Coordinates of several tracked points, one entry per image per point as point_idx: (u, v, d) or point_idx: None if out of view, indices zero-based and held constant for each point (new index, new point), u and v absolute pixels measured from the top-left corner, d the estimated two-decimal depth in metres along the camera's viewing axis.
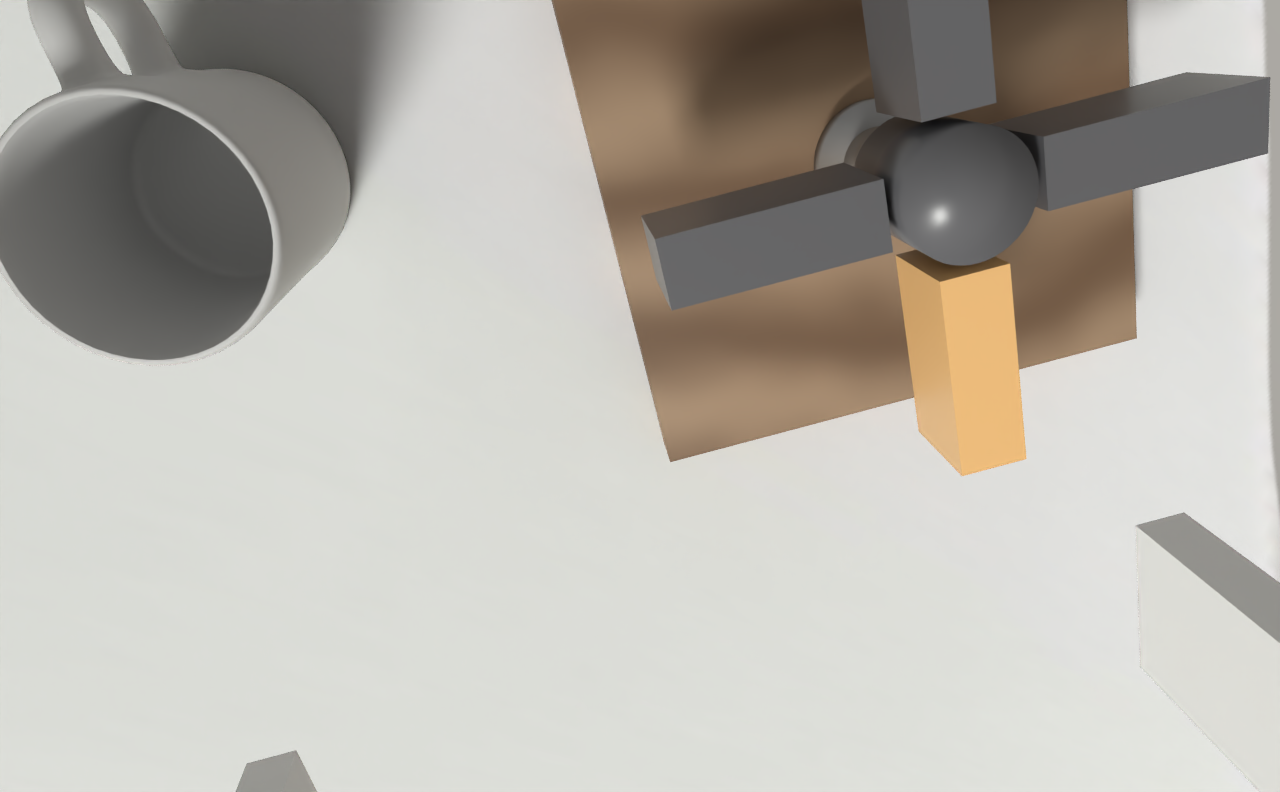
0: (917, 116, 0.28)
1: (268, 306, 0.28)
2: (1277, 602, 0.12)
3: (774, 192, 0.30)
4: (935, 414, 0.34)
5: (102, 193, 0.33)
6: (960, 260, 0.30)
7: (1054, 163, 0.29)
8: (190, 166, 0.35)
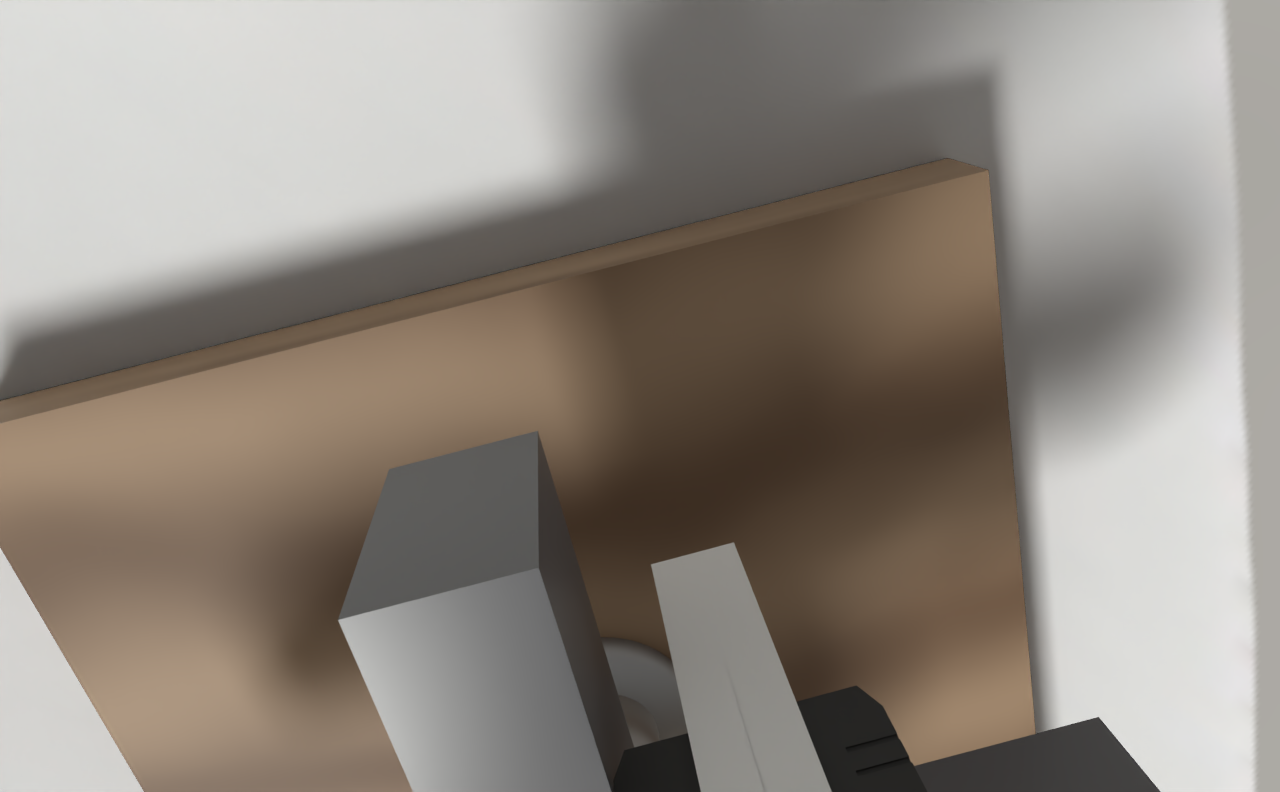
0: None
1: None
2: (746, 622, 0.14)
3: None
4: None
5: None
6: None
7: None
8: None
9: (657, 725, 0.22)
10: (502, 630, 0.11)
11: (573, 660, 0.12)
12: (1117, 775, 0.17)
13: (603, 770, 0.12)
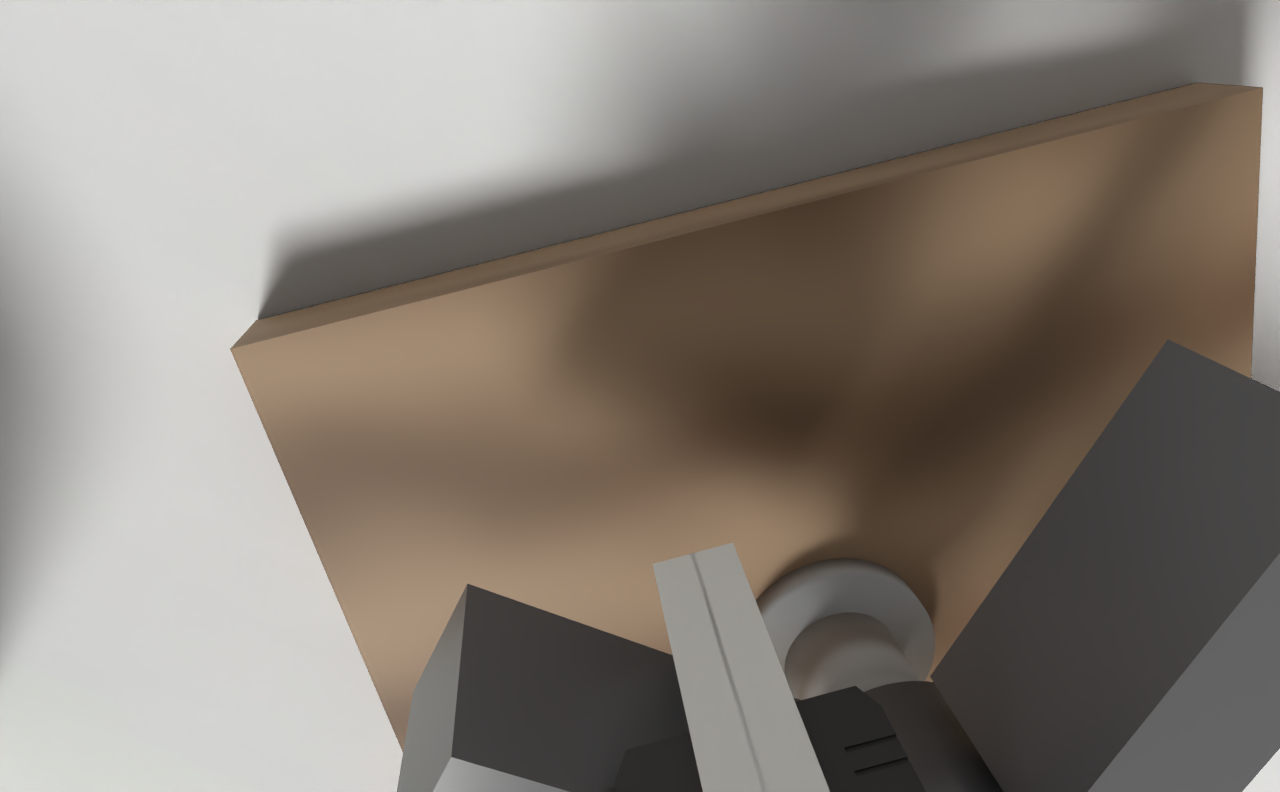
0: None
1: None
2: (745, 623, 0.14)
3: None
4: None
5: None
6: None
7: None
8: None
9: None
10: None
11: (566, 771, 0.12)
12: (1207, 391, 0.14)
13: None
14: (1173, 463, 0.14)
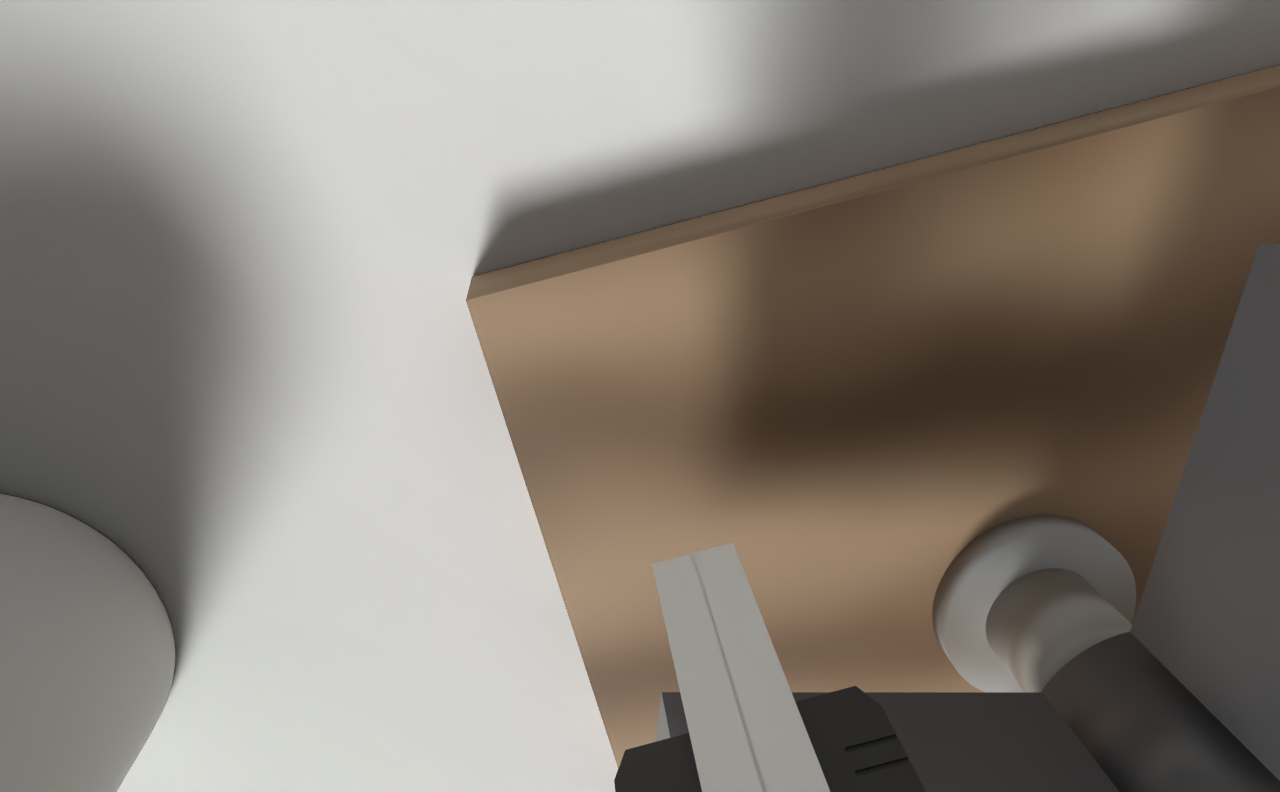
0: None
1: None
2: (745, 622, 0.14)
3: None
4: None
5: None
6: None
7: None
8: None
9: None
10: None
11: None
12: None
13: None
14: None
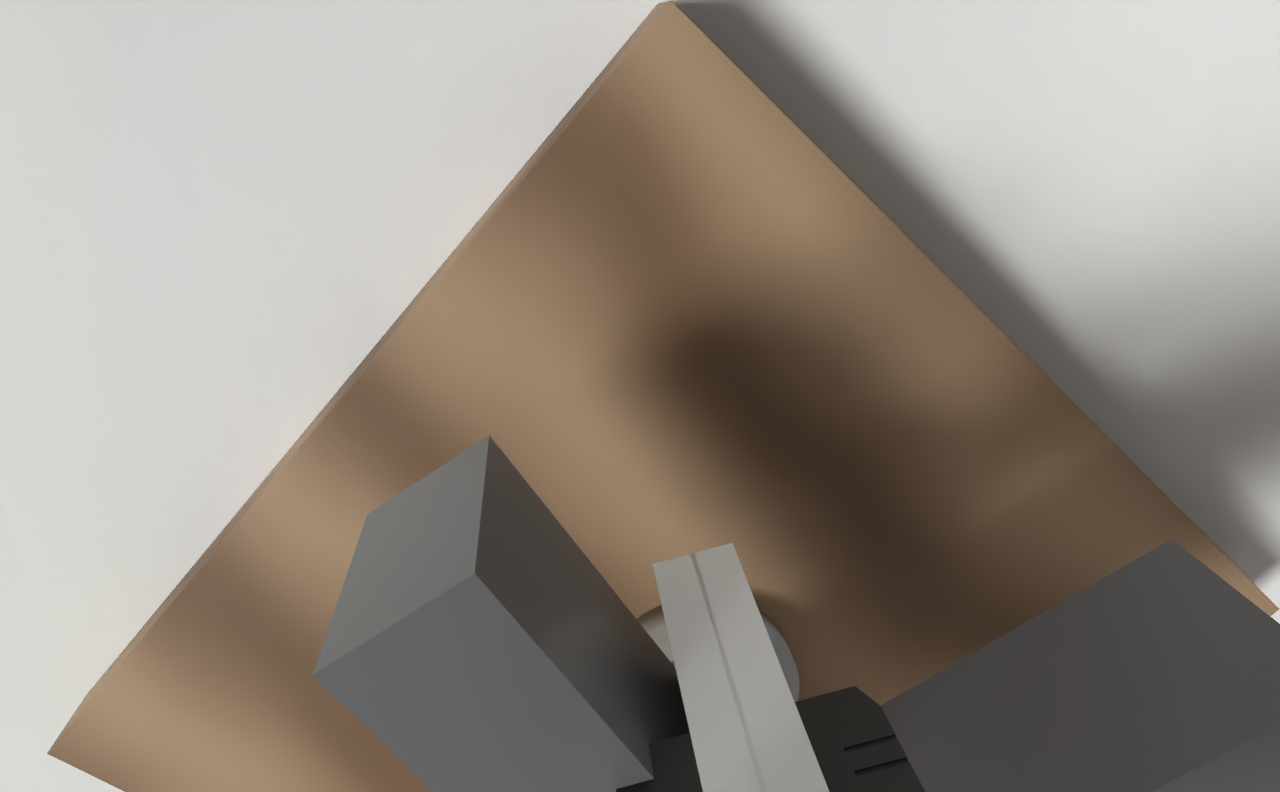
0: None
1: None
2: (744, 623, 0.14)
3: None
4: None
5: None
6: None
7: None
8: None
9: None
10: (467, 641, 0.11)
11: (554, 647, 0.12)
12: (1199, 593, 0.15)
13: (620, 741, 0.12)
14: (1147, 640, 0.15)
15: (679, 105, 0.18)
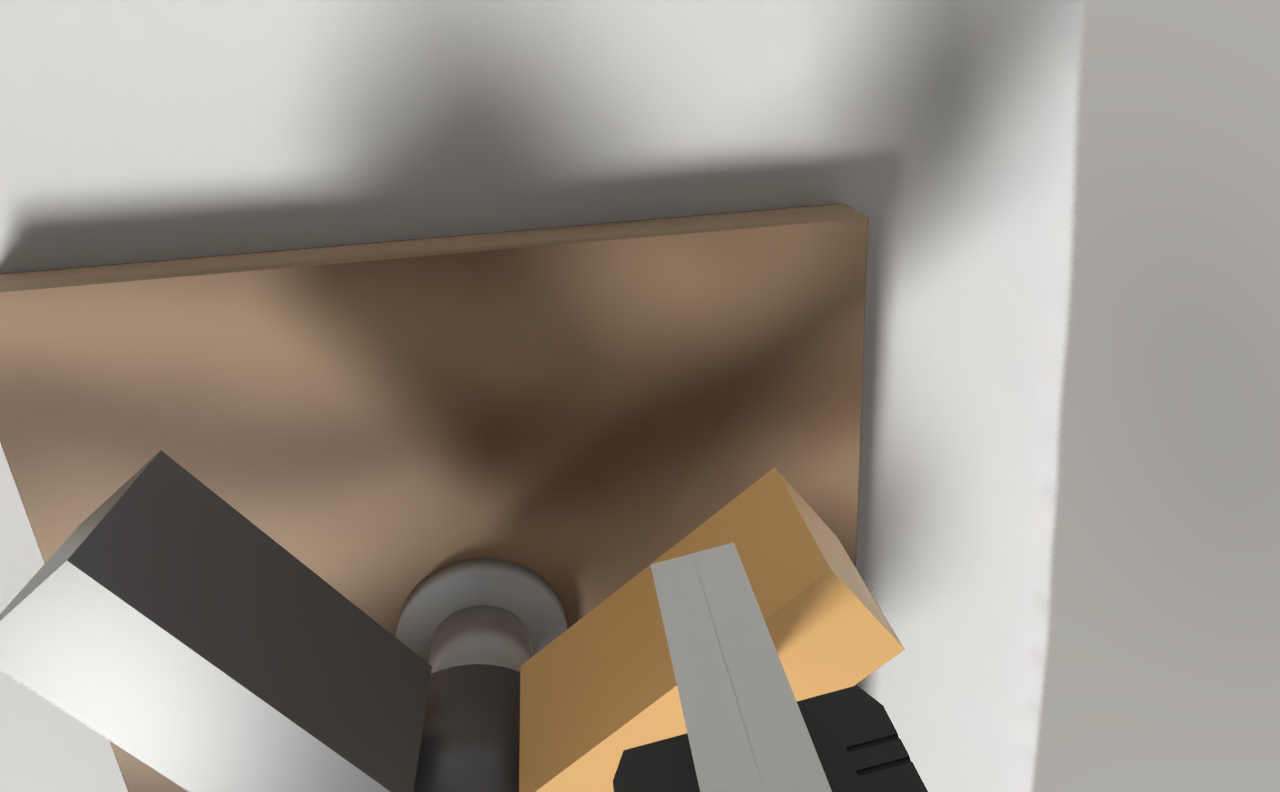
0: None
1: None
2: (746, 622, 0.14)
3: None
4: None
5: None
6: None
7: None
8: None
9: (532, 640, 0.26)
10: None
11: None
12: None
13: None
14: None
15: (26, 342, 0.22)
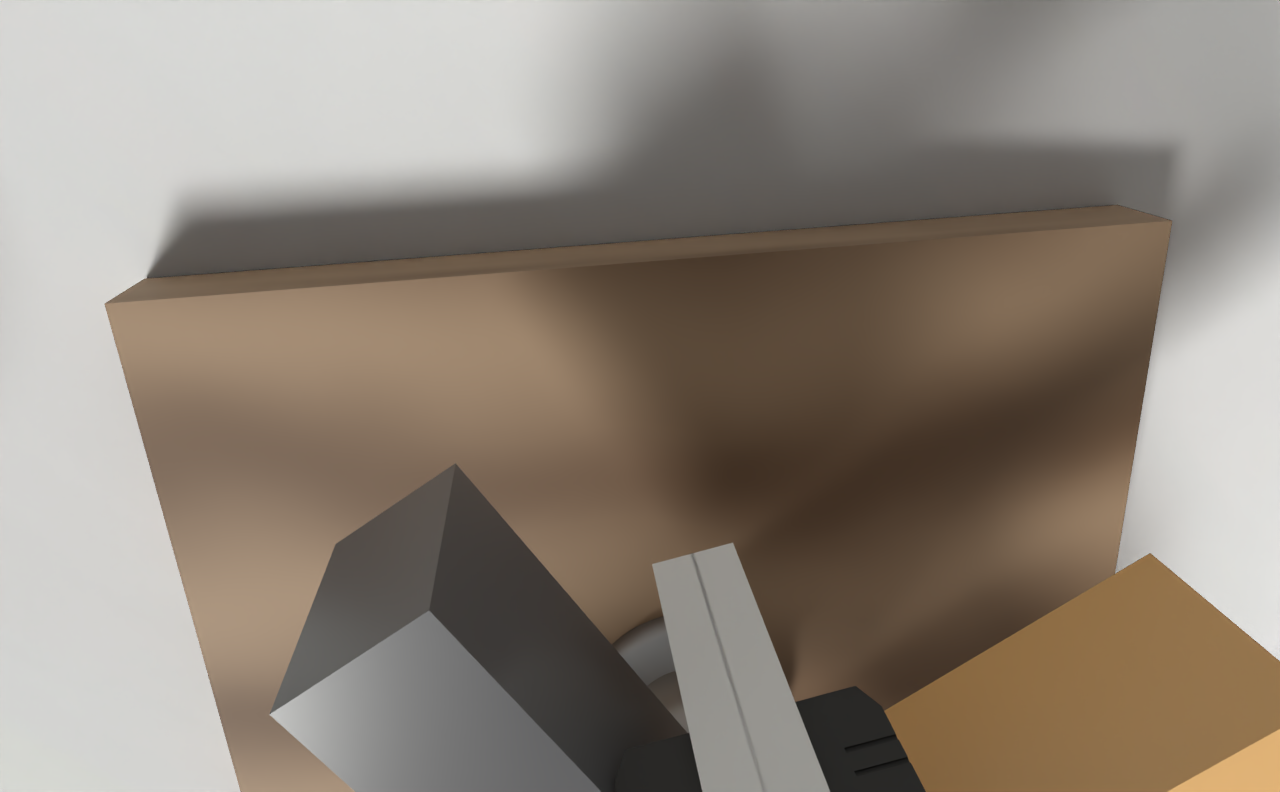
0: None
1: None
2: (745, 623, 0.14)
3: None
4: None
5: None
6: None
7: None
8: None
9: None
10: None
11: None
12: None
13: None
14: None
15: (192, 358, 0.18)
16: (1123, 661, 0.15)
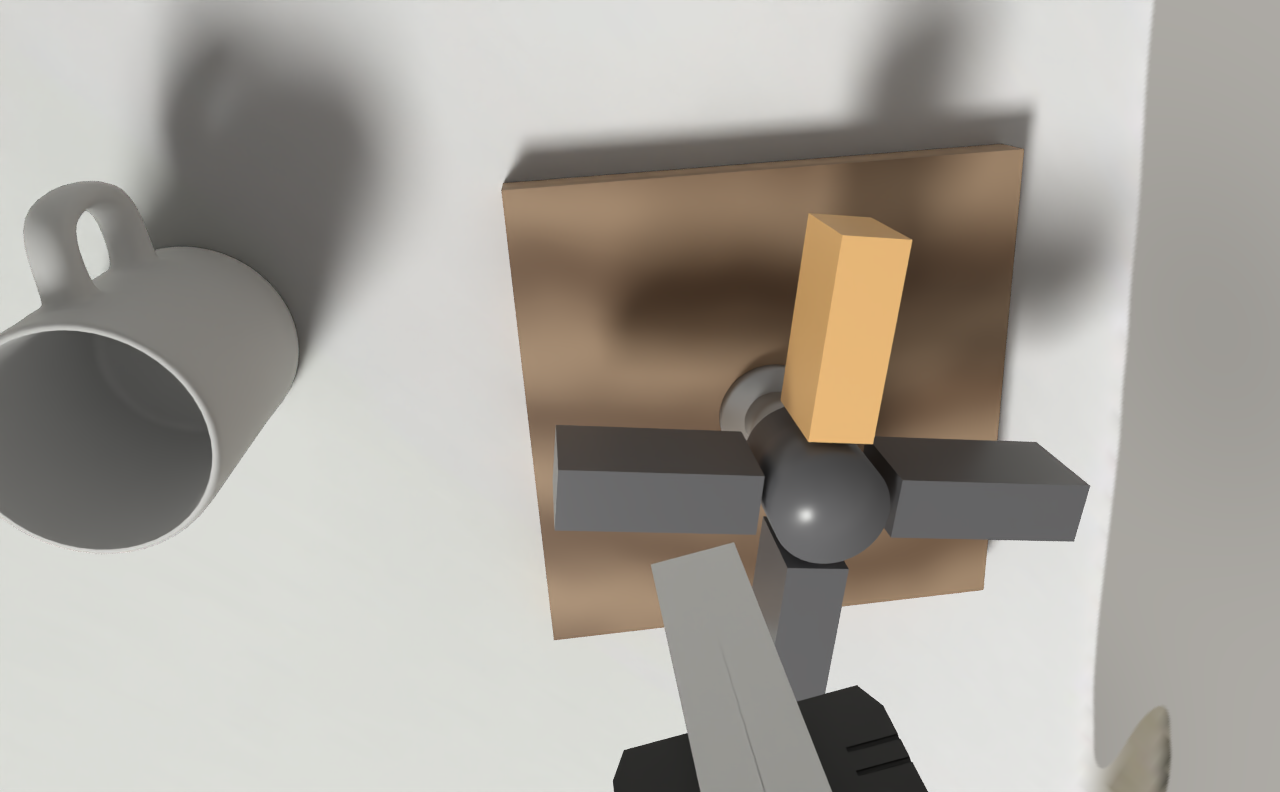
0: None
1: (198, 516, 0.31)
2: (746, 622, 0.14)
3: None
4: None
5: (62, 356, 0.35)
6: (855, 463, 0.33)
7: (751, 512, 0.33)
8: None
9: None
10: None
11: None
12: None
13: None
14: None
15: (538, 218, 0.38)
16: (814, 269, 0.33)
